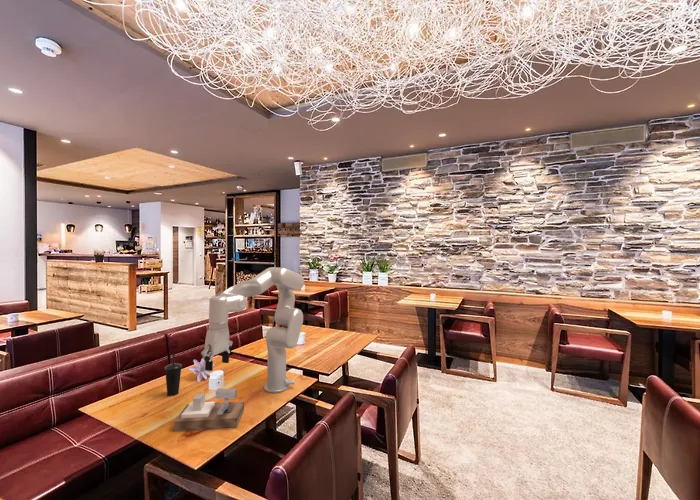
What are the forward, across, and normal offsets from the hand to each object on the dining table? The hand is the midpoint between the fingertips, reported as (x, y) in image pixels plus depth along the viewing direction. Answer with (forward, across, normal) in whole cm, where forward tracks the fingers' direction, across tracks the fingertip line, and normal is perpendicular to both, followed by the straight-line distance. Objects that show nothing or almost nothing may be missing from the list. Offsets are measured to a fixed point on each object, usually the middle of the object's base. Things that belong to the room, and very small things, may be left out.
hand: (217, 366), depth 132 cm
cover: (+19, +3, -7) cm, 20 cm away
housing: (+23, 0, -2) cm, 23 cm away
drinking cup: (+23, -13, -37) cm, 45 cm away
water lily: (+23, -33, -38) cm, 55 cm away
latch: (+18, +1, +4) cm, 19 cm away
